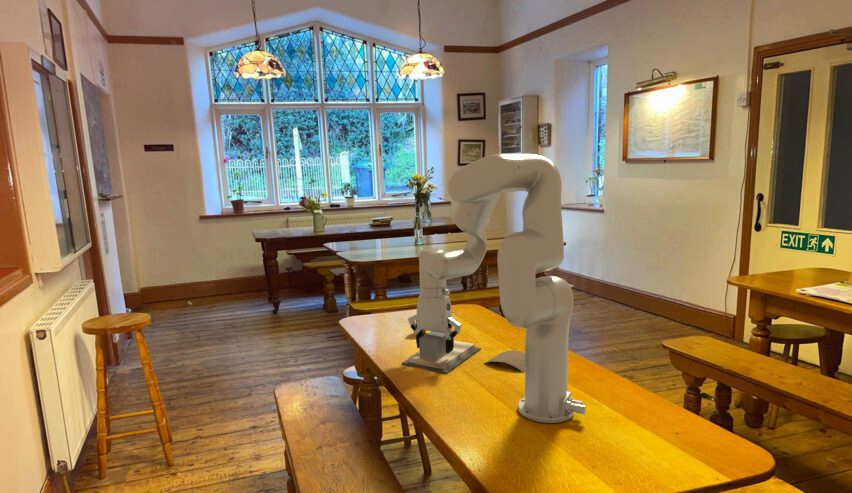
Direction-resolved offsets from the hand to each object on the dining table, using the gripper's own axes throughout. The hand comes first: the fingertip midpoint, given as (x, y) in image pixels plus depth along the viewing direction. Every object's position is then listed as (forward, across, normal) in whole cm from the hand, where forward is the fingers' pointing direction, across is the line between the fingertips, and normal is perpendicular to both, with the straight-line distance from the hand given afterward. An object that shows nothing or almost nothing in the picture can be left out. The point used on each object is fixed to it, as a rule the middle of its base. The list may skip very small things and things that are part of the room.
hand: (434, 349), depth 150 cm
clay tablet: (+5, -20, -10) cm, 23 cm away
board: (+4, 0, -5) cm, 6 cm away
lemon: (+4, +17, -22) cm, 28 cm away
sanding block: (+2, 0, 0) cm, 2 cm away
